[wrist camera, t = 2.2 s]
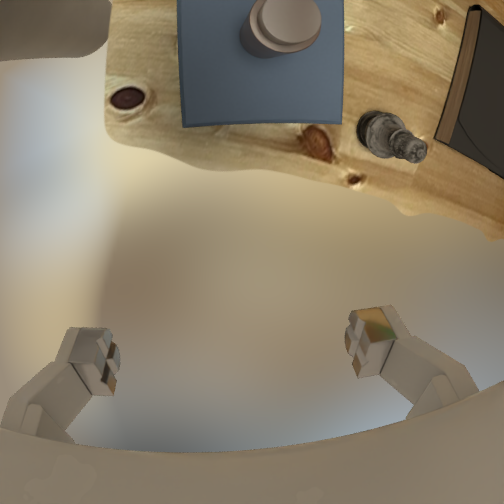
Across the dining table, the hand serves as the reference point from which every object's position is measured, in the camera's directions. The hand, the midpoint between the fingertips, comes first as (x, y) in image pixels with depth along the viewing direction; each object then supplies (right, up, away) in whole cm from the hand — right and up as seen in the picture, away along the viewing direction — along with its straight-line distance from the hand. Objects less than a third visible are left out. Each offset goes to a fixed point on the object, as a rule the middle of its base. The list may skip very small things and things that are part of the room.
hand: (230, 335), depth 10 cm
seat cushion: (+2, +27, +20) cm, 34 cm away
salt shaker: (+17, +19, +27) cm, 37 cm away
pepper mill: (+2, +25, +17) cm, 30 cm away
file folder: (+46, +27, +26) cm, 59 cm away
